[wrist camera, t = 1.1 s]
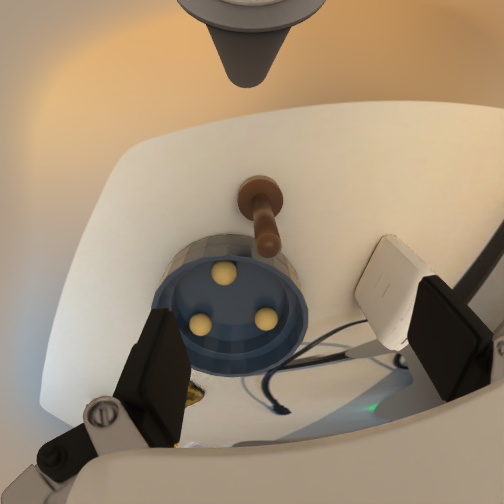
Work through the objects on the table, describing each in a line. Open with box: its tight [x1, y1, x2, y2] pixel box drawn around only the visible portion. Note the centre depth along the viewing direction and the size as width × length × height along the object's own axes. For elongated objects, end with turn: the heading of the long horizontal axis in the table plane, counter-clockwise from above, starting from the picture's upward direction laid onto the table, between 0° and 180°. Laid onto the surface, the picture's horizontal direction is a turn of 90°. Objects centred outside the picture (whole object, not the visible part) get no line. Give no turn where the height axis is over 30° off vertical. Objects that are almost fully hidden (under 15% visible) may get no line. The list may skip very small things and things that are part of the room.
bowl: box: [151, 234, 308, 377], centre depth 36 cm, size 18×18×6 cm
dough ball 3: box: [255, 308, 278, 331], centre depth 37 cm, size 3×3×3 cm
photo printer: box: [354, 235, 437, 351], centre depth 31 cm, size 10×4×12 cm, turn 162°
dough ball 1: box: [189, 313, 212, 336], centre depth 38 cm, size 3×3×3 cm
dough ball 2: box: [211, 260, 237, 285], centre depth 34 cm, size 3×3×3 cm
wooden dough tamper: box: [238, 176, 283, 258], centre depth 26 cm, size 5×5×14 cm
